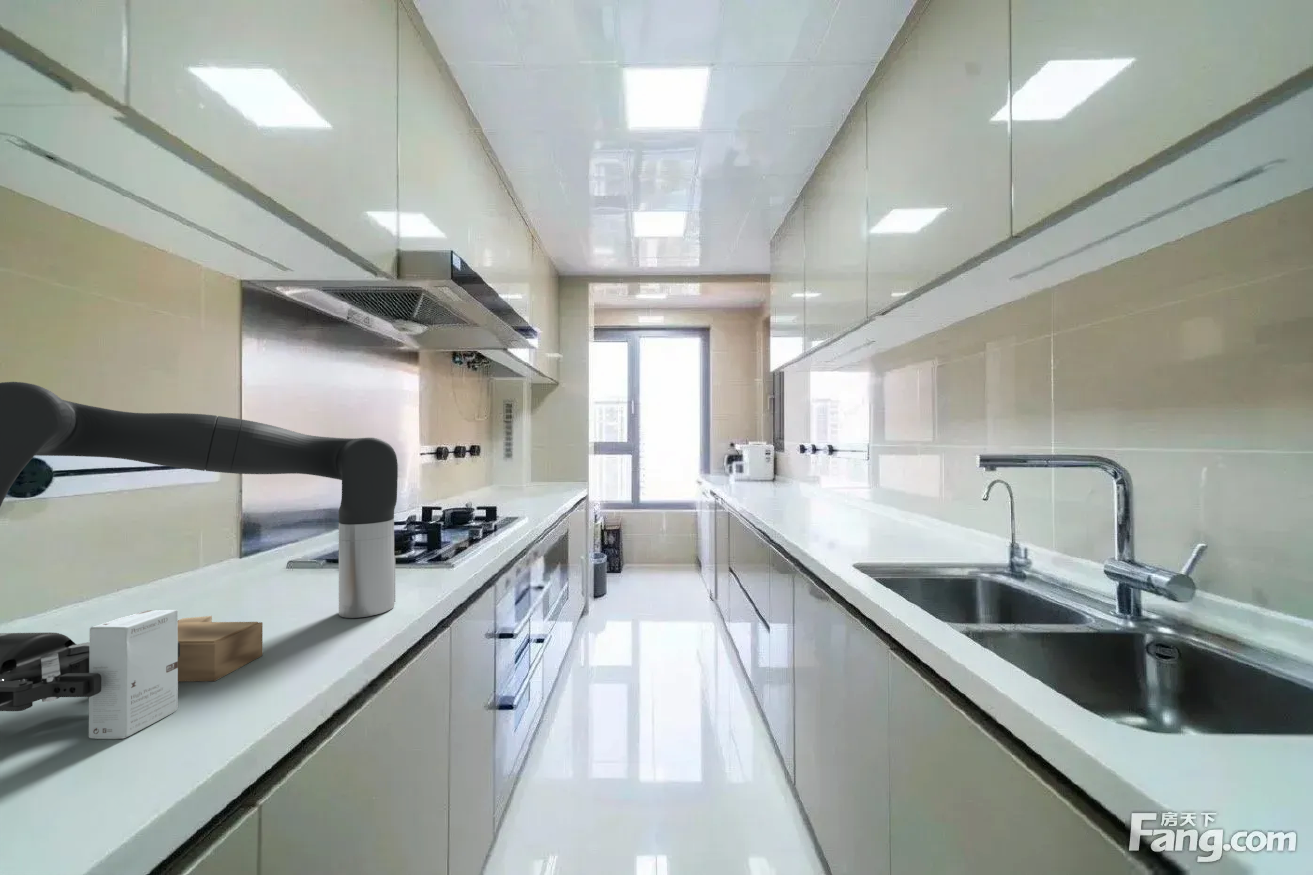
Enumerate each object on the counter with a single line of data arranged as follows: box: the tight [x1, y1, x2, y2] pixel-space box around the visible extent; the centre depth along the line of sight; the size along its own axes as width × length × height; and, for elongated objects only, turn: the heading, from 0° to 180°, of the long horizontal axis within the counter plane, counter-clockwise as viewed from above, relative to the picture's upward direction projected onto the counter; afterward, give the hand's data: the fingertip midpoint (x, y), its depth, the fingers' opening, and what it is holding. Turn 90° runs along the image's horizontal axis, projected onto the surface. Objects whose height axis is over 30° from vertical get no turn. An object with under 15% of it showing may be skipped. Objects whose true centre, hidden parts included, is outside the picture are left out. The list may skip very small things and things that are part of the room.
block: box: [178, 615, 213, 624], centre depth 78 cm, size 4×4×4 cm
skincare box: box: [88, 609, 179, 740], centre depth 56 cm, size 6×4×12 cm
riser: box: [178, 621, 263, 683], centre depth 70 cm, size 8×12×5 cm, turn 90°
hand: (140, 666), depth 56 cm, fingers open, 8 cm apart
